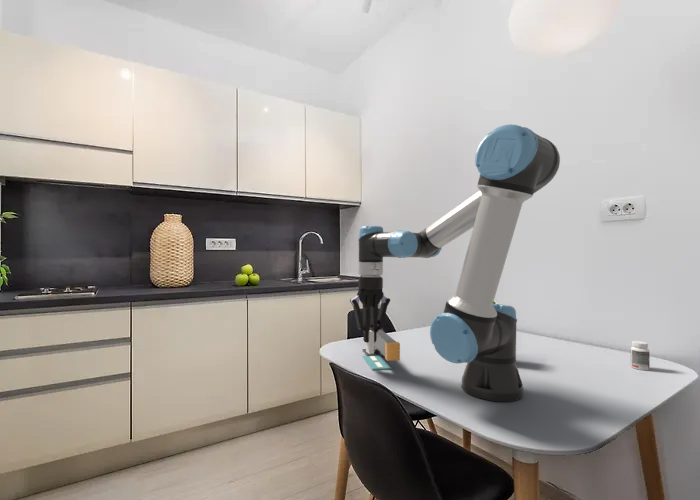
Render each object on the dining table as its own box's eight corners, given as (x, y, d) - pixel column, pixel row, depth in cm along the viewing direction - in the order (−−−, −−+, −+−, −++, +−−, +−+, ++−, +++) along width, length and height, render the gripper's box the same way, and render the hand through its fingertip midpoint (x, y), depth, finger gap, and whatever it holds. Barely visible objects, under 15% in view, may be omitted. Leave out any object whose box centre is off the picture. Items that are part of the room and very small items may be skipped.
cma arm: (401, 360, 108) (401, 343, 108) (385, 360, 107) (385, 343, 107) (380, 340, 132) (381, 327, 132) (367, 341, 131) (367, 327, 131)
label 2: (390, 369, 112) (391, 367, 112) (372, 370, 111) (372, 368, 111) (384, 362, 118) (384, 360, 118) (367, 363, 117) (367, 361, 117)
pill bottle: (653, 371, 113) (653, 344, 113) (635, 370, 114) (636, 343, 114) (644, 366, 118) (644, 340, 118) (627, 365, 119) (627, 340, 119)
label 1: (384, 362, 118) (384, 360, 118) (367, 363, 117) (367, 361, 117) (379, 356, 125) (379, 354, 125) (362, 357, 124) (362, 355, 124)
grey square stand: (389, 356, 125) (389, 345, 126) (367, 357, 124) (367, 346, 124) (383, 350, 133) (383, 340, 133) (362, 351, 132) (362, 340, 132)
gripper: (355, 277, 106) (354, 357, 105) (395, 276, 110) (394, 353, 110) (346, 275, 113) (345, 351, 112) (384, 275, 117) (383, 347, 117)
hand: (369, 352), depth 111 cm, fingers closed
